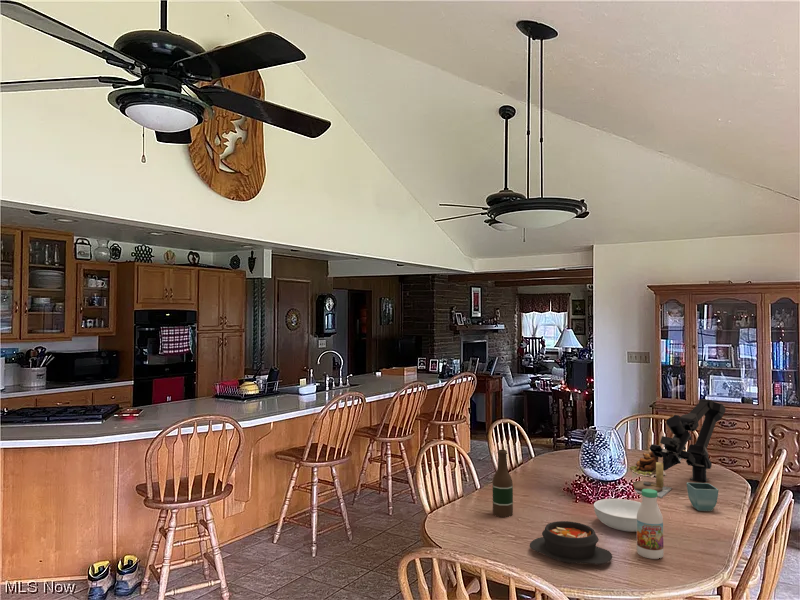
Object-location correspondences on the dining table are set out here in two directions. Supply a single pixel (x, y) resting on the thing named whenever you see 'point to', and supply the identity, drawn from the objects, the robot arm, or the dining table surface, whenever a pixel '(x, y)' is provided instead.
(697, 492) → the flower pot
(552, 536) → the casserole
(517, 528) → the dining table surface
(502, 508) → the beer bottle
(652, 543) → the milk bottle
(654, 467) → the bear figurine
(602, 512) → the serving bowl
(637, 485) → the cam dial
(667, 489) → the stand
